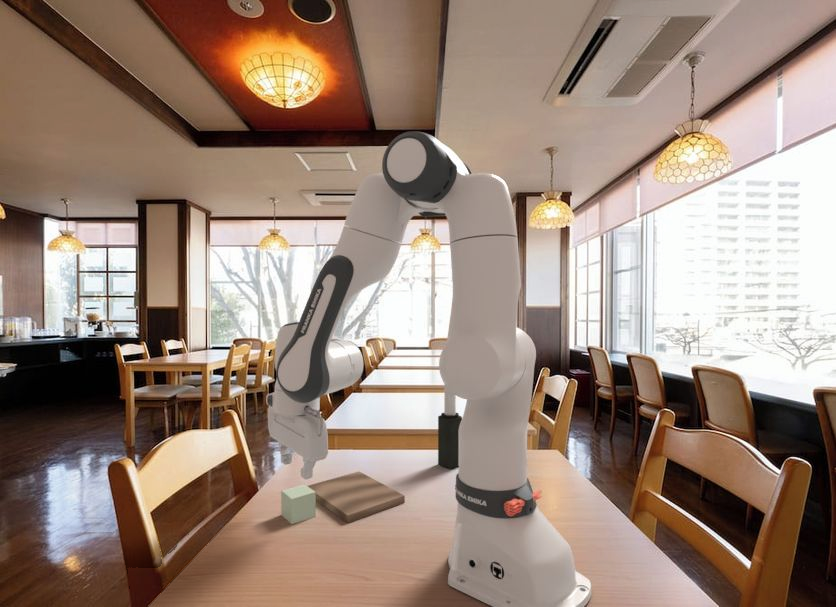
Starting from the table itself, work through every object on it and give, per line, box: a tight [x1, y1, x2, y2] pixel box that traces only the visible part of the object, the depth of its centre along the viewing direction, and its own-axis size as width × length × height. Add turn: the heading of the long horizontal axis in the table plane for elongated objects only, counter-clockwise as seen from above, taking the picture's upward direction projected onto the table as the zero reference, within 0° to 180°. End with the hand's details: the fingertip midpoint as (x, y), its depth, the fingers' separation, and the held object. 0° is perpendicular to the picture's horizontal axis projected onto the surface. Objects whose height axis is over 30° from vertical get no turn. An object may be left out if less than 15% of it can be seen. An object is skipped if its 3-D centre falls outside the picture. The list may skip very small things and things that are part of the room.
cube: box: [280, 483, 317, 525], centre depth 91 cm, size 5×5×5 cm
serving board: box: [307, 471, 406, 524], centre depth 99 cm, size 18×14×2 cm
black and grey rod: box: [437, 384, 463, 470], centre depth 119 cm, size 5×5×25 cm
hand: (296, 470), depth 91 cm, fingers open, 8 cm apart
